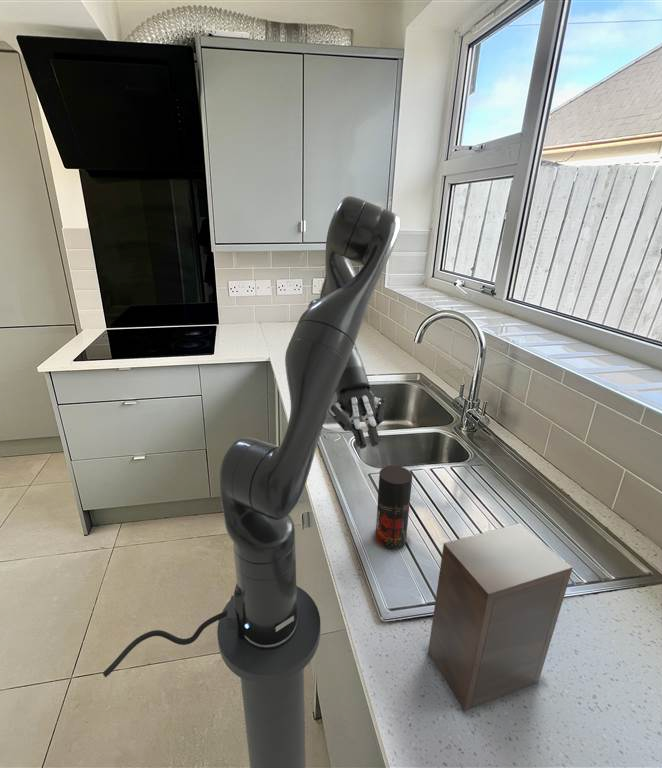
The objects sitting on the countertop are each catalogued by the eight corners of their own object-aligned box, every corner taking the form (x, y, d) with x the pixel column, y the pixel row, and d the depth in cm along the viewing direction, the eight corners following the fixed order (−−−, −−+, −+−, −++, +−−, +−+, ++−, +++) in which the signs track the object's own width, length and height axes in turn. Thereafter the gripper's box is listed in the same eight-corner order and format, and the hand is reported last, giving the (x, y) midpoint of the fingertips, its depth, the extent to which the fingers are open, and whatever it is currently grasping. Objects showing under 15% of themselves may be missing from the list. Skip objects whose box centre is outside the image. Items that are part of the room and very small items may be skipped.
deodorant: (369, 533, 82) (373, 470, 76) (393, 525, 84) (399, 462, 78) (386, 553, 77) (392, 487, 71) (412, 543, 79) (419, 478, 73)
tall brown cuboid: (427, 652, 59) (443, 543, 51) (495, 628, 62) (519, 522, 55) (464, 711, 52) (488, 594, 44) (538, 681, 55) (573, 567, 48)
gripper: (323, 368, 86) (344, 447, 79) (381, 361, 89) (406, 436, 83) (315, 383, 92) (333, 456, 86) (370, 376, 96) (392, 446, 90)
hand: (369, 446), depth 84 cm, fingers closed
